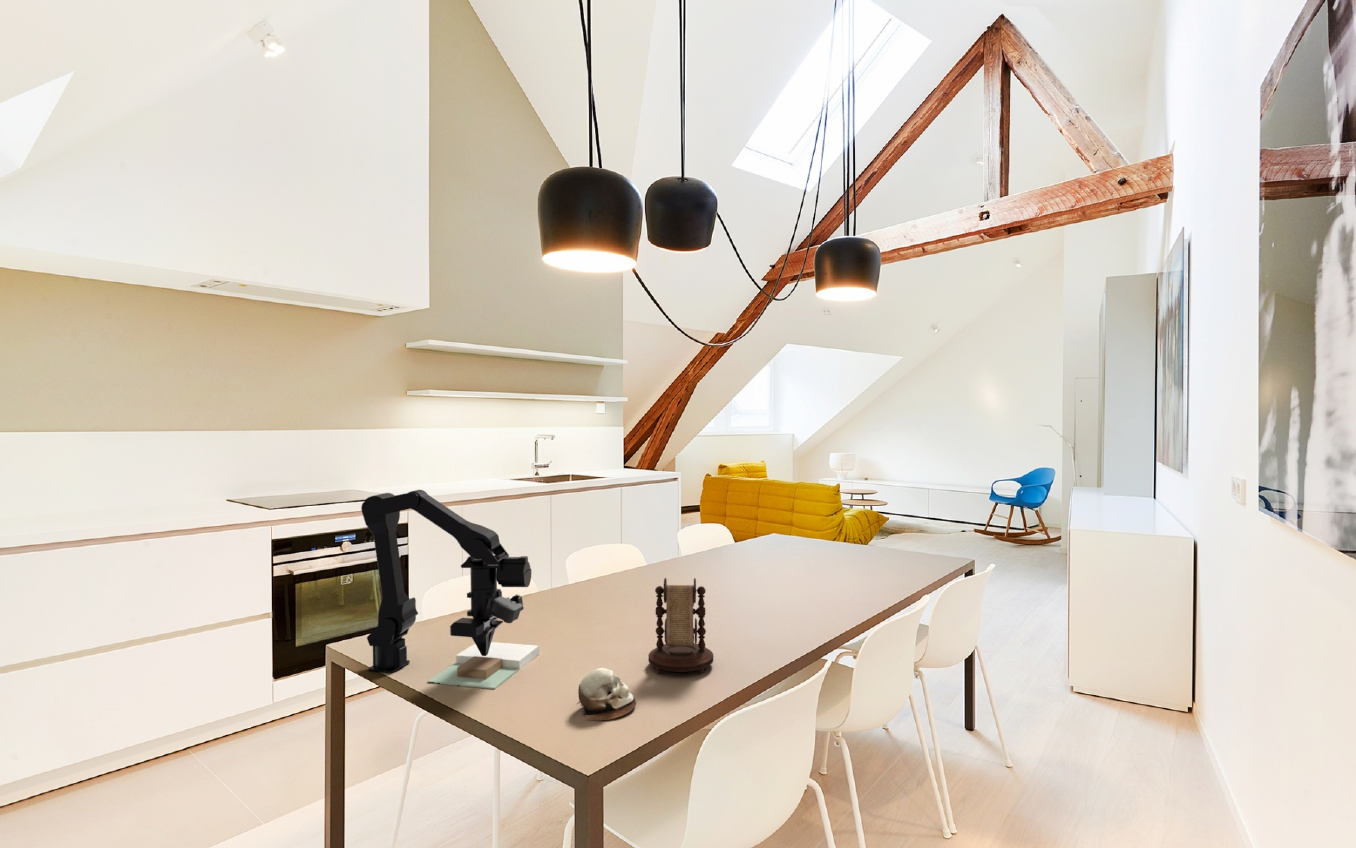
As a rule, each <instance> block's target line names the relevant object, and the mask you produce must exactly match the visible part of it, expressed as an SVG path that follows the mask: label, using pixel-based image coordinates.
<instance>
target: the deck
mask: <svg viewBox="0 0 1356 848" xmlns="http://www.w3.org/2000/svg"><path fill="white" fill-rule="evenodd" d="M539 655H540V645H535V644H520V643H507V642H496V641H491V645H490V648H489V652H488V655H486V656H482V655H481V653H480V651H479V650H478V648H477V646H476V644H475V643H473V644H472V645H470V646H469V647H467V648H465V649H464V650H462V651H461V652H458V653H457V654H456V655H455V663H461V664H463V663H465V662H466V661H468V660H469V659H471V658H472V657H474V656H478V657H490V658H502V667H507V668H518V669H519V670H518V671H520V670H521V669H523V668H524V667H525V666H526V665H527V664H528V663H530V662H531V661H532V660H534V659H535V658H536V657H537V656H539Z"/></svg>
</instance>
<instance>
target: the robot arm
mask: <svg viewBox="0 0 1356 848" xmlns="http://www.w3.org/2000/svg"><path fill="white" fill-rule="evenodd" d="M360 506H361V508H360V511H361V513H362V517H363V520H364V524H365V526H366V527H367V528H368V530H369V531H370V532H371V534H372V537H373V541H374V548H375V555H376V562H377V563H376V564H377V569H378V570H377V571H378V576H379V585H380V591H381V601H380V604H379V608H378V611H377V612H378V613H377V626H376V627H375V628H374V629H373V630H372V631H371V632H370V633H369V634H368V636H366V639H367V642H368V645H369V646H370V647H372V666H369V667H368V668H367V670H368V671H371V672H381V673H394V672H395V673H396V671H398V670H399V669H402V668H403V667H405V666H407V665H409V664H410V660H409V659H408V657H407V656H408V652H407V650H408V649H407V647H408V646H407V645H406V638H403V637H404V636H407V634H408V632H409V631H410V628H411V627H413V625H414V624H415V623H416V619H417V618H416V617H417V615H419V612H418V610H417V606H416V604H417V600H416V598H415V597H411V598H410V597H409V596H408V595H407V593H406V591H405V587H404V586H405V585H404V581H403V580H404V579H403V571H402V564H401V559H400V551H399V543H398V536H397V528H398V525H399V520H400V519H401V518H400V516H401V512H403V511H405V510H413V511H414V512H416V513H417V514H419V515H420V516H422V517H424V518H425V519H427V520H428V521H429V522H431V523H432V524H434V525H435V526H437V527H438V528H440V529H441V530H442V531H444V532H446V533H447V534H449V535H450V536H451V537H453V538H454V540H456V541H457V544H459V546H460V548H461V549H462V550H463V551H464V552H466V554H467V555H469V556H467V558H466V560H465V561H464V562H463V563H462V564H460V568H462V569H470V591H469V592H467V593H466V599H470V609H469V610H468V611H467V612H466V616H467V617H461V618H460V619H457V620H455V621H454V622H453V623H452V624H451V625H450V626H449V634H450V636H451V637H461V638H471V639H472V640H473V642H474V644H476V646H477V648H478V650H479V651H480V653H481V655H482V656H486V655H488V652H489V648H490V645H491V642H493V637H494V634H495V631H496V629H498V628H499V626H501V625H502V624H503V623H506V624H512V623H514V621H516V620H518V619H519V617H520V613H521V612H522V611H523V610H524V609H525V608H524V602H523V596H522V595H520V594H514V595H513V596H512V597H511V598H510V597H509V596H508V597H503V590H502V589H501V588H498V585H500V587H502V588H528V587H529V586H530V584H531V580H532V568H531V565H530V562H529V556H528V555H525V556H523V555H522V556H510V554H509V553H508V552H507V551H506V549H505V548H504V546H503V544H501V542H500V538H499V535H498V533H497V532H496V531H494V529H493V530H492V529H491V528H488V527H486V526H484V525H480V524H478V523H474V522H471V521H468V520H467V519H465V518H463V517H462V516H460V515H459V514H458V513H455V511H453V510H451V509H450V508H449V507H448V506H445V505H444V504H443V503H441V502H440V501H438V500H437V499H435V498H433V497H432V496H431V495H429V494H428V493H427V491H425V490H423V489H416V490H412V491H409V492H406V493H402V494H397V495H394V493H391V492H384V493H379V494H374V495H371V496H367V498H366V499H364V501H363V502H362V504H361V505H360ZM471 617H472V618H471Z"/></svg>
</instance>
